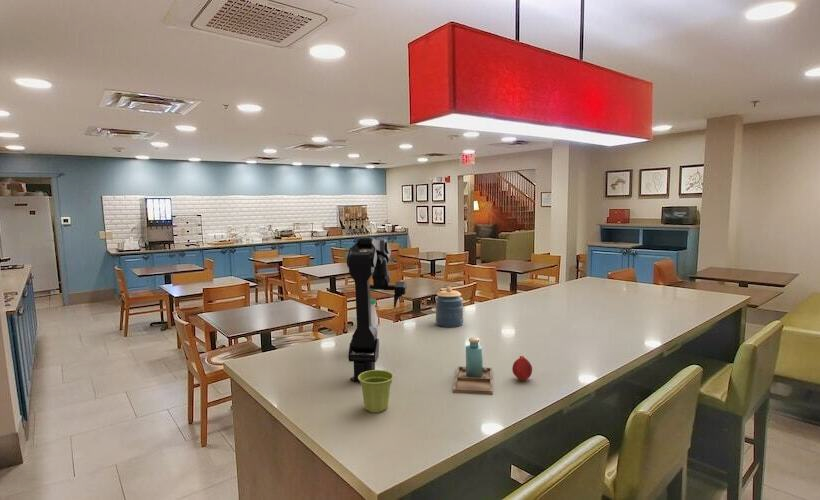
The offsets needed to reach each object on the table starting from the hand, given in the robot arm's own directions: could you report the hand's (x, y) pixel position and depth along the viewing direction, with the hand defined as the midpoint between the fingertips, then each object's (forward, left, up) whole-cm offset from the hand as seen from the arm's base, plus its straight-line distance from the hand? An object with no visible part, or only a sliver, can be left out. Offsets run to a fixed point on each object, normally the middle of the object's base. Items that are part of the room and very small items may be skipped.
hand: (383, 307), depth 169 cm
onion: (-6, -57, -16) cm, 60 cm away
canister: (+44, -4, -16) cm, 47 cm away
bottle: (-10, -43, -15) cm, 47 cm away
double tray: (-14, -45, -16) cm, 50 cm away
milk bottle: (-8, +3, -15) cm, 17 cm away
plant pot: (-44, -31, -16) cm, 56 cm away
